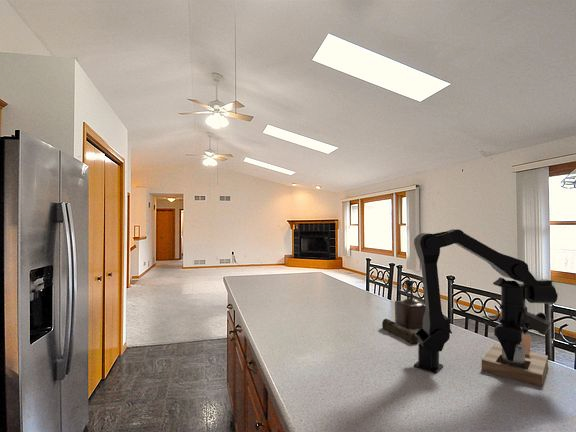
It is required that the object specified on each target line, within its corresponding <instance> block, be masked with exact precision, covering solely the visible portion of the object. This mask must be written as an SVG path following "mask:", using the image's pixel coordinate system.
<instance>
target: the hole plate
mask: <svg viewBox="0 0 576 432" xmlns="http://www.w3.org/2000/svg"><path fill="white" fill-rule="evenodd" d="M548 367H549V355H546V354H541V353H537V352H532V351H530V356H529V357H528V356H525V369H523V368H519V367H515V366H511V365H507V364H503V363H502V346H501V344H500V345H499V344H496V343H494V344H493V345H492V346H491V348H489V350H488V351H487V353H486V354H485V355H484V356H483V358H482V359H481V371H484V372H487V373H492V374H494V375H499V376H502V377H505V378H509V379H513V380H516V381H520V382H524V383H528V384H532V385H533V386H534V385H535V386H539V387H543V385H544V382H545V379H546V375H547V370H548Z"/></svg>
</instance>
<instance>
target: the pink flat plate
mask: <svg viewBox="0 0 576 432" xmlns="http://www.w3.org/2000/svg"><path fill="white" fill-rule="evenodd" d="M520 344H523V345H524V346H525V356H528V357H529V356H530V352H531V346H532V335H529V334H526V333H525V334H523V340H522V342H520Z"/></svg>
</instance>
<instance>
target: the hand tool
mask: <svg viewBox="0 0 576 432" xmlns="http://www.w3.org/2000/svg"><path fill="white" fill-rule="evenodd" d="M381 323H382V324H381V325H382V330H384V331H386V332H387V333H390V334H391V333H392V334H394V335H395V336H398V337H400V338H403V339H404V340H406V341H407V342H410V343H411V345H416V344H417V345H418V344H419V342H418V341H417V340H416V337H415V333H416V332H414V331H411V330H410V329H406V328H404V327H402V326H400V325H399V324H397V323H396V322H395V321H392V320H391V319H388V318H384V319H383V320H382V322H381Z"/></svg>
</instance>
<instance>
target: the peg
mask: <svg viewBox="0 0 576 432" xmlns="http://www.w3.org/2000/svg"><path fill="white" fill-rule="evenodd" d="M502 363H503V364H507V365H511V366H515V367H519V368H523V369H525V346H524V345H523V344H520V343H518V344H517V345H516V350H515V354H514V359H513V361H509V360H508V358H507V356H506V354H505V352H504V350H503V348H502Z"/></svg>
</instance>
